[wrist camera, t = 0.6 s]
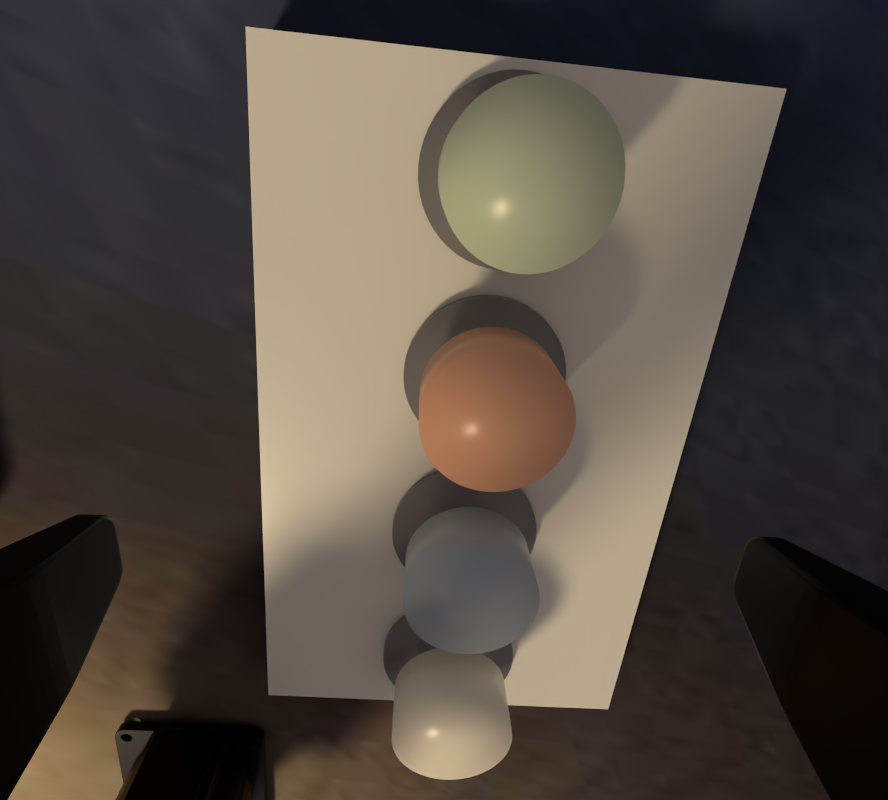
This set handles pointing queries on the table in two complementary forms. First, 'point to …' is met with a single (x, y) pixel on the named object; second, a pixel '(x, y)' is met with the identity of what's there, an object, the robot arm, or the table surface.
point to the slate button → (469, 581)
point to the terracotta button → (494, 410)
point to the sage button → (532, 174)
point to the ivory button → (450, 715)
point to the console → (453, 312)
